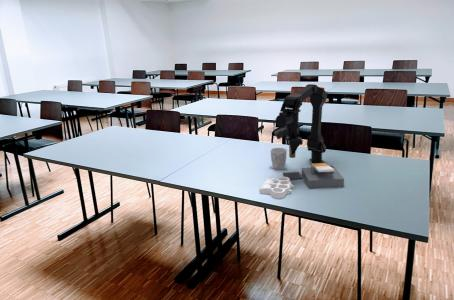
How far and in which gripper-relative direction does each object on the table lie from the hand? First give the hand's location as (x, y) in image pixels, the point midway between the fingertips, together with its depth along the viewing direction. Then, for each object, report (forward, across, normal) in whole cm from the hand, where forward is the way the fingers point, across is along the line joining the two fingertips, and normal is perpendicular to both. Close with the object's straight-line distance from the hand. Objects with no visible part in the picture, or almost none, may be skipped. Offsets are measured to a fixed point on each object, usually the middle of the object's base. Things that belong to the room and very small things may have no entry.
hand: (292, 153), depth 169 cm
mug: (+12, -14, -4) cm, 19 cm away
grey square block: (+12, +7, +13) cm, 19 cm away
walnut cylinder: (+2, 0, 0) cm, 2 cm away
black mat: (+12, 0, 0) cm, 12 cm away
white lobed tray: (+13, +14, -9) cm, 21 cm away
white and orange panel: (+6, +7, +13) cm, 16 cm away
